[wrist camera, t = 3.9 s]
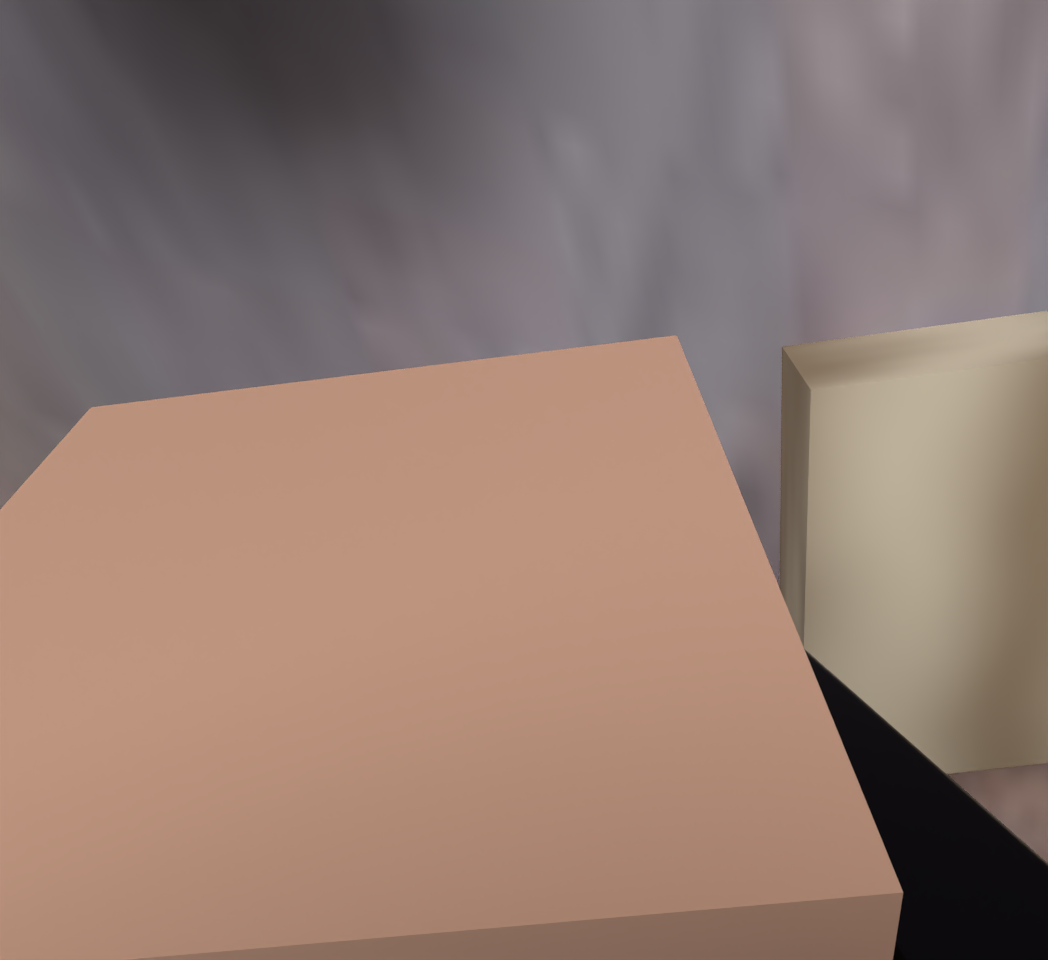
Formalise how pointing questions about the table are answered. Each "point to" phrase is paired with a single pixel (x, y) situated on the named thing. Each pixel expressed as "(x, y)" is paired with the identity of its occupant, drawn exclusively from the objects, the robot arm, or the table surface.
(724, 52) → the table surface
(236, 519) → the terracotta cube
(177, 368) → the table surface
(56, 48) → the table surface
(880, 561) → the plinth
